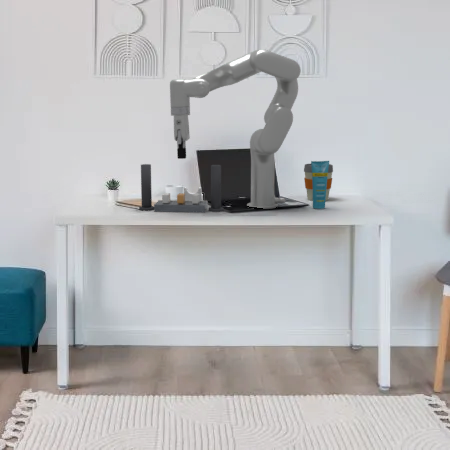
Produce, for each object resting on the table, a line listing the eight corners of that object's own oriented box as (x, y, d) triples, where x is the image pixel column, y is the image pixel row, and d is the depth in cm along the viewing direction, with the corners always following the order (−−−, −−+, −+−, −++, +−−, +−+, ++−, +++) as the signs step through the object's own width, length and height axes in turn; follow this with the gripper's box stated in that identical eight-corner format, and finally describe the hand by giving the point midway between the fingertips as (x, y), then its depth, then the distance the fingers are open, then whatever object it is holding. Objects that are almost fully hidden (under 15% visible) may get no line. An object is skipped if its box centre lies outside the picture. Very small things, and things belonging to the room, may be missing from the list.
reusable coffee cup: (299, 200, 331) (300, 165, 328) (308, 196, 343) (308, 162, 340) (328, 202, 326) (328, 167, 324) (335, 198, 338) (336, 164, 335)
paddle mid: (185, 201, 310) (184, 193, 309) (183, 203, 305) (183, 195, 305) (179, 201, 310) (179, 193, 310) (177, 203, 305) (177, 195, 305)
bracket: (201, 206, 319) (200, 188, 318) (184, 205, 320) (183, 187, 318) (204, 201, 332) (204, 183, 331) (187, 200, 332) (187, 183, 331)
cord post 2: (224, 209, 310) (224, 164, 306) (222, 211, 304) (222, 166, 300) (209, 209, 310) (209, 164, 307) (207, 211, 304) (207, 166, 301)
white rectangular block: (170, 201, 311) (170, 193, 310) (168, 203, 306) (168, 195, 305) (164, 201, 311) (164, 193, 310) (162, 203, 306) (162, 195, 305)
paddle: (199, 201, 309) (199, 193, 309) (198, 203, 305) (198, 195, 304) (193, 201, 310) (193, 193, 309) (192, 203, 305) (192, 195, 304)
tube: (312, 209, 309) (313, 161, 305) (308, 207, 314) (309, 160, 310) (329, 208, 311) (331, 161, 307) (325, 206, 315) (326, 159, 312)
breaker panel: (207, 208, 312) (207, 200, 312) (204, 212, 302) (204, 204, 302) (158, 207, 314) (158, 199, 314) (154, 211, 304) (154, 203, 304)
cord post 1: (155, 208, 312) (154, 164, 309) (152, 210, 306) (151, 165, 303) (140, 208, 313) (139, 163, 309) (137, 210, 307) (136, 165, 304)
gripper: (187, 112, 293) (188, 160, 297) (192, 110, 308) (193, 156, 311) (167, 112, 294) (169, 160, 298) (173, 110, 309) (175, 156, 312)
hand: (181, 158), depth 304 cm, fingers closed
